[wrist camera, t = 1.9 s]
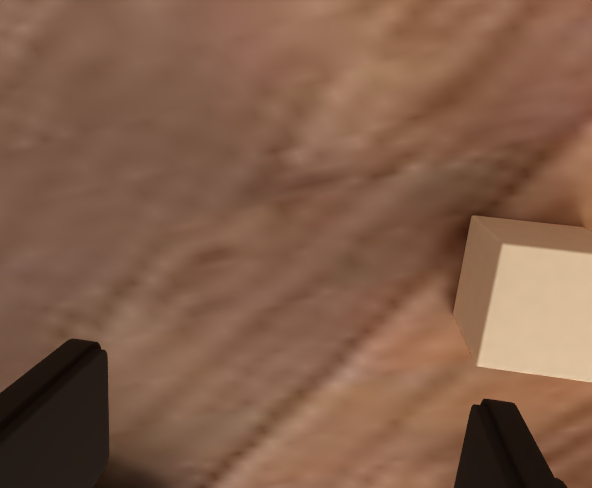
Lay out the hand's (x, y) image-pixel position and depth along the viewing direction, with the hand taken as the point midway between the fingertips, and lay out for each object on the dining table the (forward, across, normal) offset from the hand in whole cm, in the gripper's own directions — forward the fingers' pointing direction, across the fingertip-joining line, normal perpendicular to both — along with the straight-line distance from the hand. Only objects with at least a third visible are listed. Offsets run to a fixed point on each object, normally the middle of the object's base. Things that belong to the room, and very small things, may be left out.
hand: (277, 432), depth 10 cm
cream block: (+14, -9, 0) cm, 17 cm away
